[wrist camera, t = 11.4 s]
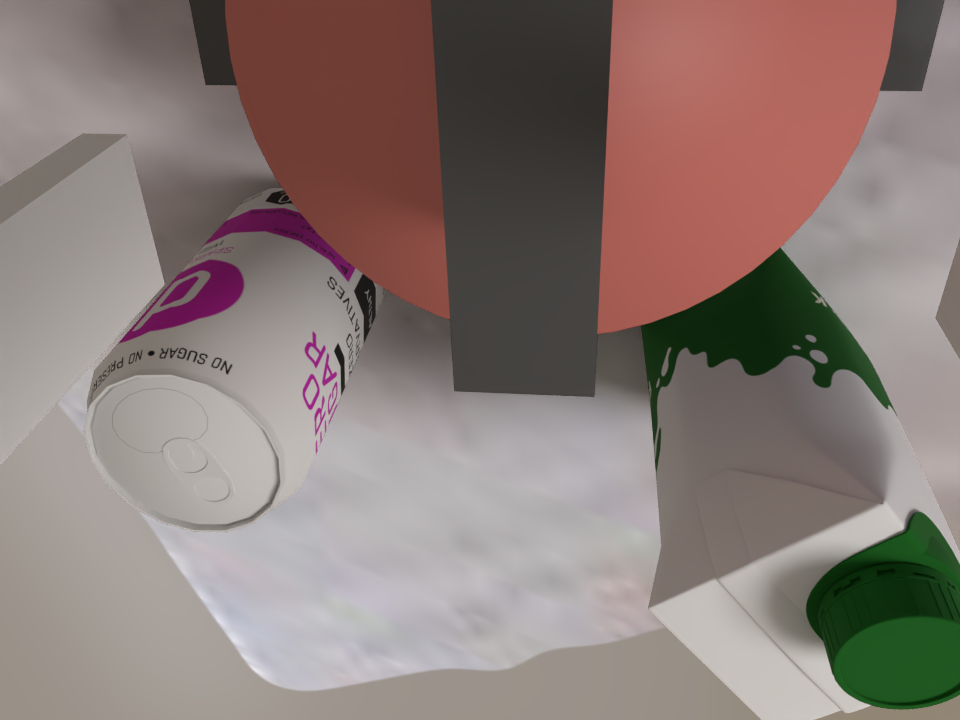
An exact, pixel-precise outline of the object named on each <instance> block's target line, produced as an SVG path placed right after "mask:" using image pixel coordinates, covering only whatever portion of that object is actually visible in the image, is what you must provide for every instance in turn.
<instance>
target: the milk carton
mask: <svg viewBox="0 0 960 720" xmlns="http://www.w3.org/2000/svg"><path fill="white" fill-rule="evenodd" d="M641 329H642V337H643V346H644V354H645V362H646V371H647V380H648V389H649V397H650V406H651V416H652V428H653V442H654V455H655V468H656V481H657V494H658V508H659V521H660V535H661V551H660V555H659V560H658V565H657V569H656V574H655V579H654V583H653V588H652V593H651V597H650V602H649V606H648V610H649V611H650V612H651V613H652V614H653V615H654V616H655V617H656V618H657V619H658V620H659V621H660V622H661V623H662V624H663V625H664V626H666V627H667V628H668V629H669V630H670V631H671V632H672V633H673V634H674V635H675V636H676V637H677V638H678V639H679V640H680V641H681V642H682V643H683V644H684V645H685V646H686V647H687V648H688V649H689V650H690V651H691V652H692V653H693V654H694V655H696V657H697V658H698V659H699V660H700V661H702V662H703V663H704V664H705V665H706V666H707V667H708V668H709V669H710V670H711V671H712V672H713V673H714V674H715V675H716V676H717V677H718V678H719V679H720V680H721V681H722V682H723V683H724V684H725V685H726V686H727V687H728V688H729V689H730V690H731V691H732V692H733V693H734V694H735V695H737V697H738V698H740V699H741V700H742V701H743V702H744V703H745V704H746V705H747V706H748V707H749V708H750V709H751V710H752V711H753V712H754V713H755V714H756V715H757V716H758V717H759V718H760V719H761V720H815V719H818V718H821V717H823V716H826V715H829V714H832V713H834V712H837V711H840V710H843V711H844V712H845V713H851V712H854V711H857V710H860V709H863V708H866V707H868V706H871V705H872V706H876V707H880V708H887V709H917V708H923V707H929V706H933V705H937V704H940V703H943V702H945V701H948V700H950V699H953V698H954V697H957V696H958V695H960V552H959V550H958V547H957V545H956V543H955V541H954V538H953V536H952V534H951V532H950V529H949V527H948V525H947V523H946V520H945V518H944V516H943V514H942V512H941V509H940V507H939V505H938V503H937V501H936V498H935V496H934V494H933V492H932V490H931V488H930V485H929V483H928V481H927V479H926V477H925V474H924V472H923V470H922V468H921V466H920V464H919V462H918V460H917V457H916V455H915V453H914V451H913V449H912V447H911V445H910V443H909V440H908V438H907V436H906V434H905V432H904V430H903V428H902V426H901V423H900V421H899V419H898V417H897V415H896V413H895V411H894V409H893V406H892V404H891V402H890V400H889V398H888V396H887V394H886V392H885V389H884V387H883V385H882V383H881V381H880V379H879V377H878V375H877V373H876V371H875V369H874V367H873V365H872V363H871V361H870V360H869V358H868V357H867V355H866V354H865V352H864V351H863V349H862V348H861V347H860V345H859V344H858V342H857V341H856V339H855V338H854V337H853V335H852V334H851V333H850V331H849V330H848V329H847V327H846V326H845V325H844V323H843V322H842V321H841V320H840V318H839V317H838V316H837V314H836V313H835V312H834V311H833V309H832V308H831V307H830V306H829V305H828V303H827V302H826V301H825V300H824V298H823V297H822V296H821V295H820V294H819V293H818V291H817V290H816V289H815V288H814V287H813V286H812V284H811V283H810V282H809V281H808V280H807V278H806V277H805V276H804V275H803V274H802V273H801V271H800V270H799V269H798V268H797V267H796V266H795V264H794V263H793V262H792V261H791V260H790V258H789V257H788V256H787V255H786V254H785V253H784V251H783V250H782V249H781V248H779V249H778V250H776V251H775V252H774V253H773V254H772V255H771V256H769V257H768V258H767V259H766V260H765V261H763V262H762V263H761V264H760V265H759V266H757V267H756V268H755V269H754V270H753V271H751V272H750V273H748V274H747V275H745V276H744V277H742V278H741V279H739V280H738V281H736V282H735V283H733V284H732V285H730V286H728V287H727V288H725V289H724V290H722V291H721V292H719V293H717V294H715V295H713V296H711V297H709V298H708V299H706V300H704V301H702V302H700V303H698V304H696V305H694V306H692V307H690V308H688V309H686V310H683V311H681V312H678V313H675V314H673V315H670V316H667V317H665V318H662V319H659V320H657V321H654V322H651V323H648V324H644V325H641Z"/></svg>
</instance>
